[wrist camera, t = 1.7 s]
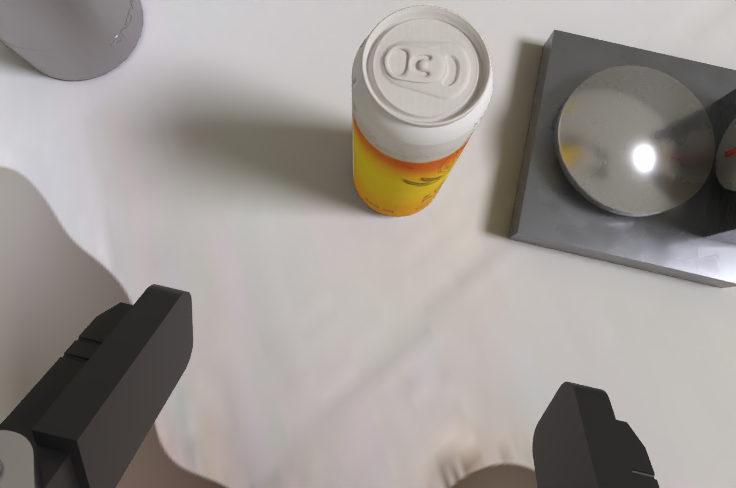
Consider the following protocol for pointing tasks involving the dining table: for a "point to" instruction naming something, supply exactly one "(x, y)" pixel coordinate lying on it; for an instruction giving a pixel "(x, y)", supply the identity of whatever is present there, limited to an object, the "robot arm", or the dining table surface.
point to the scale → (619, 232)
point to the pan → (634, 141)
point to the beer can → (415, 105)
